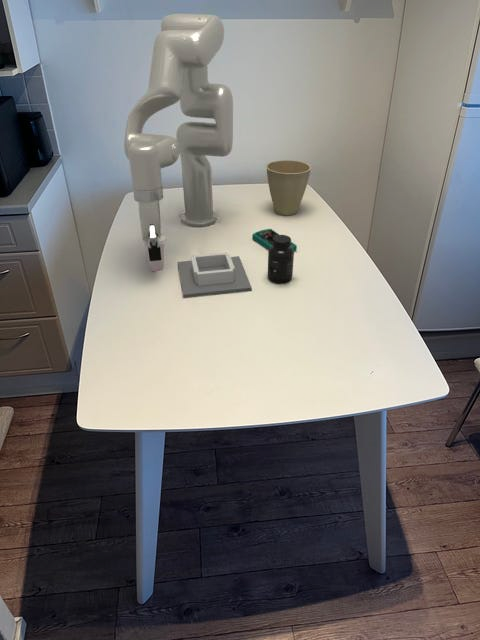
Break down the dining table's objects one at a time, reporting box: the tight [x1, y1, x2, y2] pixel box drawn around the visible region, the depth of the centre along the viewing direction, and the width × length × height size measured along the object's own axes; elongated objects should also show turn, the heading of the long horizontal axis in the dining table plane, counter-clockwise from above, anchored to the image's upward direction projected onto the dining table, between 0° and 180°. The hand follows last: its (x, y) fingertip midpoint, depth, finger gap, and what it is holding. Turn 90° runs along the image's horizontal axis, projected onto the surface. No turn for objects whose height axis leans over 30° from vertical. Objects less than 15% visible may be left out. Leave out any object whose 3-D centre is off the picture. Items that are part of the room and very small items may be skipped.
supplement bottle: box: [267, 234, 295, 285], centre depth 131 cm, size 7×7×12 cm
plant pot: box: [266, 159, 312, 216], centre depth 168 cm, size 15×15×16 cm
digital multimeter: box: [251, 228, 298, 253], centre depth 151 cm, size 7×15×3 cm, turn 31°
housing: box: [177, 252, 253, 299], centre depth 134 cm, size 18×18×4 cm
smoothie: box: [141, 233, 166, 273], centre depth 135 cm, size 6×6×14 cm
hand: (154, 252), depth 136 cm, fingers open, 9 cm apart
